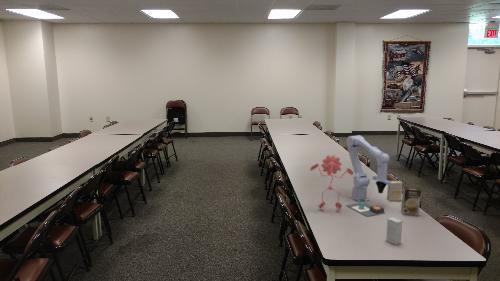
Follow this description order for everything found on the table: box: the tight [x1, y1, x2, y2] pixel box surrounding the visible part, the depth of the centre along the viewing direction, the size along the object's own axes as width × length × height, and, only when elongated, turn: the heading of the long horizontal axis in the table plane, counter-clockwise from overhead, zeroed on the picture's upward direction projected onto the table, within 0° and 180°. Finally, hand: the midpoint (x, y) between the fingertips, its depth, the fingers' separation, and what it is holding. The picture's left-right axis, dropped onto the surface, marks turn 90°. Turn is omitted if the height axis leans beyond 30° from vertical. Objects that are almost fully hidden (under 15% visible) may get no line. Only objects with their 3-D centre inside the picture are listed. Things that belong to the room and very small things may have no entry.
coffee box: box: [400, 186, 422, 217], centre depth 225 cm, size 9×6×16 cm
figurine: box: [309, 154, 354, 214], centre depth 231 cm, size 15×26×35 cm, turn 84°
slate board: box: [345, 202, 386, 218], centre depth 232 cm, size 20×14×3 cm
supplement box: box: [386, 180, 403, 202], centre depth 248 cm, size 8×5×13 cm, turn 92°
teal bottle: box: [358, 199, 366, 209], centre depth 232 cm, size 3×3×6 cm
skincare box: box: [385, 216, 403, 245], centre depth 188 cm, size 6×4×12 cm
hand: (380, 192), depth 235 cm, fingers closed
